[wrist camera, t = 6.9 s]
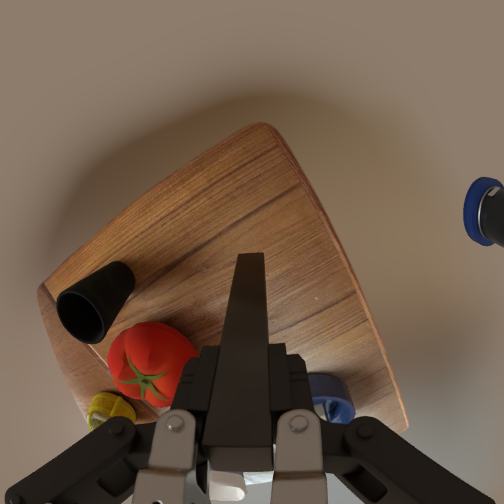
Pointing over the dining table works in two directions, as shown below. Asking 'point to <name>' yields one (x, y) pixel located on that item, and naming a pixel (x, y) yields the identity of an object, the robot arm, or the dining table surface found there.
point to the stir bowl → (332, 398)
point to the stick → (242, 378)
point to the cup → (95, 302)
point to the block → (320, 411)
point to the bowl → (227, 485)
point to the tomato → (149, 361)
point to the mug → (108, 409)
